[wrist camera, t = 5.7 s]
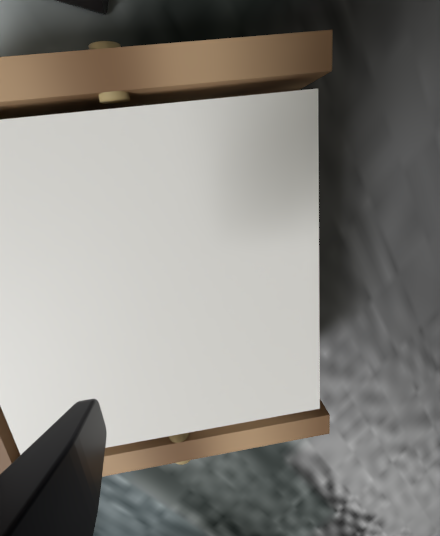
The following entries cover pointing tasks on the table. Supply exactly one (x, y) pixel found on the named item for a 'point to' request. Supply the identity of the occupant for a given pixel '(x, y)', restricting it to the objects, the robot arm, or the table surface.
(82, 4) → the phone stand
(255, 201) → the trapdoor
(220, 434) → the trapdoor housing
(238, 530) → the table surface
